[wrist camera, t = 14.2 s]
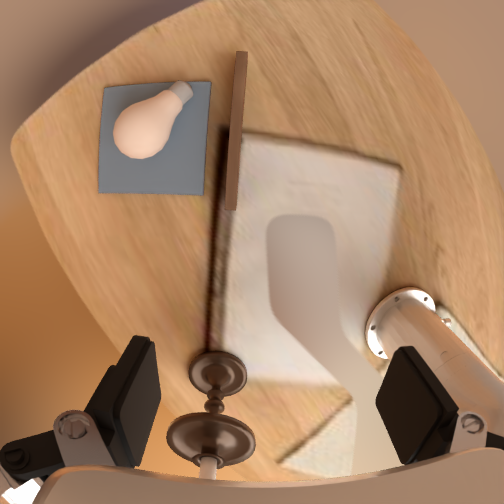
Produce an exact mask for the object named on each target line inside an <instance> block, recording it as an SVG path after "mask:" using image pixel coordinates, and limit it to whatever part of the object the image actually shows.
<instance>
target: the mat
mask: <svg viewBox="0 0 504 504" xmlns="http://www.w3.org/2000/svg"><path fill="white" fill-rule="evenodd" d="M174 83H175V82H165V83H148V84H135V85H125V86H116V87H107V88H104V95H103V105H102V115H101V128H100V145H99V193H141V194H178V195H204V176H205V159H206V143H207V129H208V116H209V104H210V93H211V82H187V83H189V84H190V85H191V87H192V91H193V97H192V98H191V99H189V100H188V101H187V102H186V103H185V104H184V105H183V106H182V110H181V111H180V113H179V114H178V115H177V116H176V118H175V121H174V123H173V126H172V129H171V132H170V136H169V139H168V141H167V142H166V144H165V145H164V147H163V149H162V150H160V151H159V152H158V153H156V154H155V155H153V156H151V157H148V158H144V159H136V158H130V157H128V156H127V155H125V154H123V153H121V151H120V150H119V149H118V147H117V146H116V144H115V142H114V137H113V129H114V125H115V121H116V120H117V118H118V117H119V115H120V114H121V112H122V111H123V110H125V109H126V108H128V107H129V106H131V105H132V104H135V103H138V102H141V101H144V100H147V99H149V98H152V97H155V96H156V95H158V94H159V93H161V92H162V91H163V90H168V89H169V88H170V87H171V86H172V85H173V84H174Z"/></svg>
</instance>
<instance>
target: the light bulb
mask: <svg viewBox="0 0 504 504" xmlns="http://www.w3.org/2000/svg"><path fill="white" fill-rule="evenodd" d="M192 97H193V91H192V87H191V85H190V84H189V83H187V82H184V81H180V80H178V81H176V82H175V83H174V84H173V85H172V86H171V87H170V88H169V89H168V90H163V91H162V92H161V93H159V94H158V95H156V96H155V97H152V98H149V99H147V100H144V101H141V102H138V103H135V104H132V105H131V106H129V107H128V108H126V109H125V110H123V111H122V112H121V114H120V115H119V117H118V118H117V120H116V121H115V125H114V129H113V137H114V142H115V144H116V146H117V147H118V149H119V150H120V151H121V153H123V154H125V155H127V156H128V157H130V158H136V159H144V158H148V157H151V156H153V155H155V154H156V153H158V152H159V151H160V150H162V149H163V147H164V145H165V144H166V142H167V141H168V139H169V136H170V132H171V129H172V126H173V123H174V121H175V118H176V116H177V115H178V114H179V113H180V111H181V110H182V106H183V105H184V104H185V103H186V102H187V101H188V100H189V99H191V98H192Z"/></svg>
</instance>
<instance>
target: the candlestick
mask: <svg viewBox="0 0 504 504" xmlns="http://www.w3.org/2000/svg"><path fill="white" fill-rule="evenodd" d="M189 379H190V381H191V383H192V384H193V386H194V387H195V388H196V389H198V390H199V391H201V392H202V393H204V394H207V397H208V398H209V400H207V401H206V403H205V404H204V408H205V410H206V411H207V412H198V413H190V414H186V415H183V416H180V417H178V418H176V419H175V420H174V421H173V422H171V424H170V426H169V427H168V431H167V436H166V439H167V443H168V445H169V446H170V448H171V449H172V450H173V451H174V452H175V453H176V454H177V455H179V456H181V457H182V458H184V459H186V460H188V461H191V462H193V463H194V464H195V465H197V466H198V467H200V472H199V478H202V479H212V480H216V469H220V468H223V467H224V466H229V465H234V464H238V463H240V462H243V461H244V460H246V459H248V458H249V457H250V456H251V455H252V454H253V452H254V451H255V446H256V444H255V435H254V433H253V431H252V430H251V429H250V428H249V427H248V426H247V425H246V424H244V423H243V422H241V421H239V420H237V419H235V418H233V417H229V416H226V415H222V414H220V413H222V412H223V411H224V404H223V402H222V401H221V400H223V398H224V397H226V396H231V395H233V394H236V393H237V392H239V391H240V390H241V389H242V388H243V387H244V386H245V384H246V381H247V370H246V367H245V365H244V364H243V362H242V361H241V360H240V359H239V358H237V357H236V356H234V355H232V354H229V353H227V352H222V351H209V352H205V353H202V354H200V355H198V356H197V357H195V359H194V360H193V361H192V362H191V364H190V368H189Z"/></svg>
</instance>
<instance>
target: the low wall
mask: <svg viewBox="0 0 504 504" xmlns="http://www.w3.org/2000/svg"><path fill="white" fill-rule="evenodd" d="M247 58H248V52H244V51H237V52H236V62H235V73H234V84H233V96H232V108H231V121H230V134H229V148H228V163H227V179H226V195H225V210H236V206H237V193H238V178H239V164H240V150H241V136H242V122H243V110H244V97H245V85H246V73H247Z"/></svg>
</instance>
